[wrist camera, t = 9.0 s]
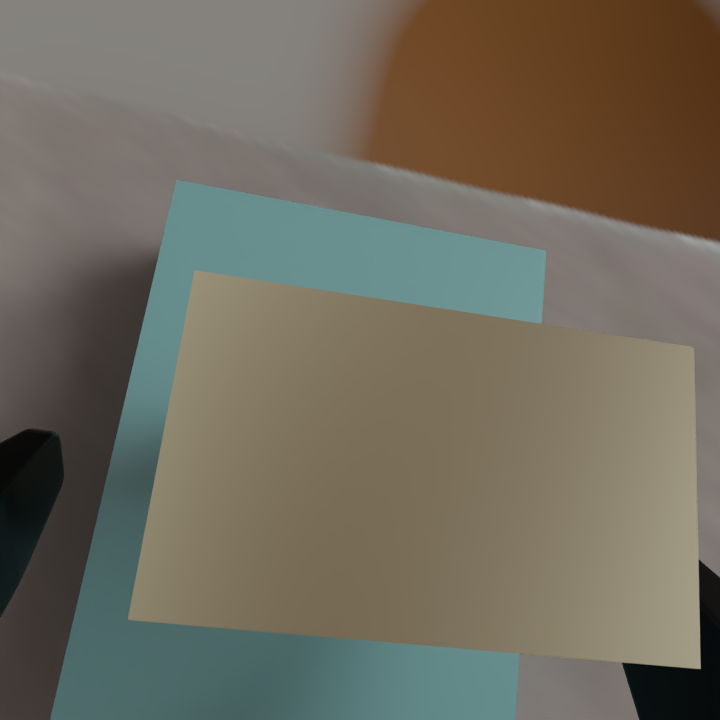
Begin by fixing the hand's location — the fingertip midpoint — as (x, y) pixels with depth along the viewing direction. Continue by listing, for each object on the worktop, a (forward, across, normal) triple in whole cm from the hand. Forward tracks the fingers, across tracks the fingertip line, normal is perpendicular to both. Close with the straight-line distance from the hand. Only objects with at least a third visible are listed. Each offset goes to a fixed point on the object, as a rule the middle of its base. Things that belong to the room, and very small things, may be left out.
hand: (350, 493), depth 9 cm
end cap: (+7, 0, +6) cm, 9 cm away
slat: (+7, 0, +6) cm, 9 cm away
